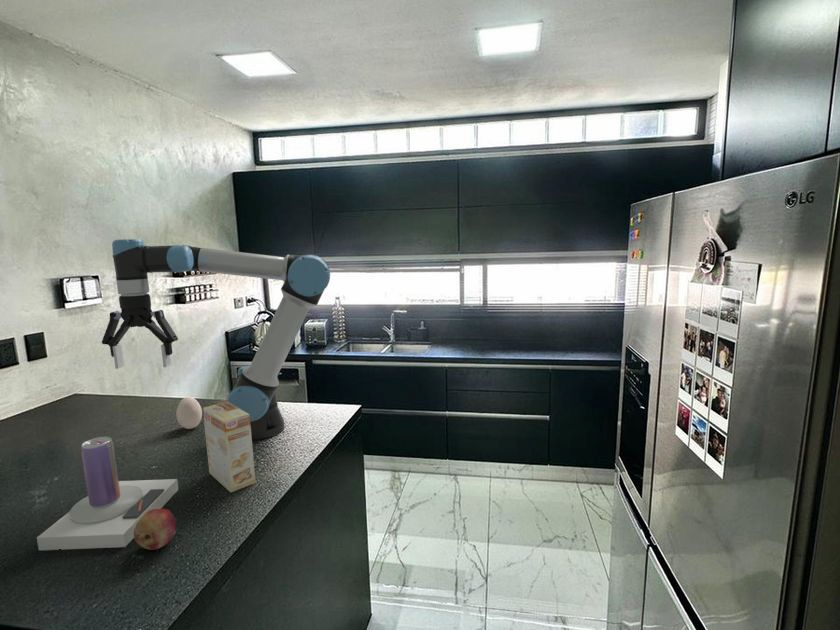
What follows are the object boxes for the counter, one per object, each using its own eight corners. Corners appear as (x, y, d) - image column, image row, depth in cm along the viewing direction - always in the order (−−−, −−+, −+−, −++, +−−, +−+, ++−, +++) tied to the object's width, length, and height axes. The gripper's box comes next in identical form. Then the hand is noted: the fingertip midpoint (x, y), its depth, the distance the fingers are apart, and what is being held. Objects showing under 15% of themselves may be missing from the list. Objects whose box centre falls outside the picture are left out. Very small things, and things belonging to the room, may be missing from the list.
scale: (178, 489, 115) (176, 475, 114) (125, 547, 93) (122, 529, 92) (108, 492, 114) (106, 478, 114) (38, 550, 92) (35, 533, 92)
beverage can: (104, 510, 99) (95, 448, 97) (83, 507, 101) (73, 446, 98) (126, 495, 105) (118, 437, 103) (106, 493, 106) (97, 435, 104)
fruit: (129, 550, 92) (124, 515, 91) (166, 529, 98) (162, 497, 97) (149, 563, 88) (144, 527, 87) (186, 541, 94) (182, 507, 93)
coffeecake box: (256, 482, 117) (250, 413, 114) (230, 493, 112) (222, 422, 109) (233, 464, 128) (227, 400, 124) (208, 473, 123) (201, 407, 119)
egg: (208, 425, 155) (205, 395, 153) (187, 434, 148) (184, 402, 147) (194, 422, 159) (190, 392, 157) (173, 430, 152) (169, 399, 150)
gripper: (185, 291, 128) (193, 361, 131) (98, 294, 127) (108, 364, 131) (171, 294, 121) (180, 368, 124) (79, 297, 120) (90, 371, 123)
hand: (143, 366), depth 127 cm, fingers open, 13 cm apart
